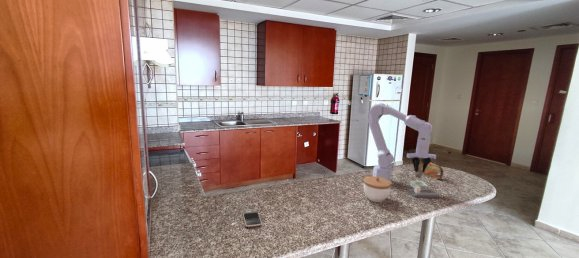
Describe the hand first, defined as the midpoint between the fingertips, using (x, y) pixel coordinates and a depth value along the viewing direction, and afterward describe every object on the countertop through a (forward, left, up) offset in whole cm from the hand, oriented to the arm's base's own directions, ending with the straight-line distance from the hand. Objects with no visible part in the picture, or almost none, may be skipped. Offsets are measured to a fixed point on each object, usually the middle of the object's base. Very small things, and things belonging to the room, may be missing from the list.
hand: (419, 171), depth 140 cm
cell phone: (-83, -34, -11) cm, 90 cm away
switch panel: (0, -6, -10) cm, 12 cm away
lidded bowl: (-26, -12, -11) cm, 30 cm away
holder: (+2, +2, -10) cm, 11 cm away
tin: (+18, +20, -11) cm, 29 cm away
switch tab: (-3, -7, -9) cm, 12 cm away
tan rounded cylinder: (0, 0, -3) cm, 3 cm away
